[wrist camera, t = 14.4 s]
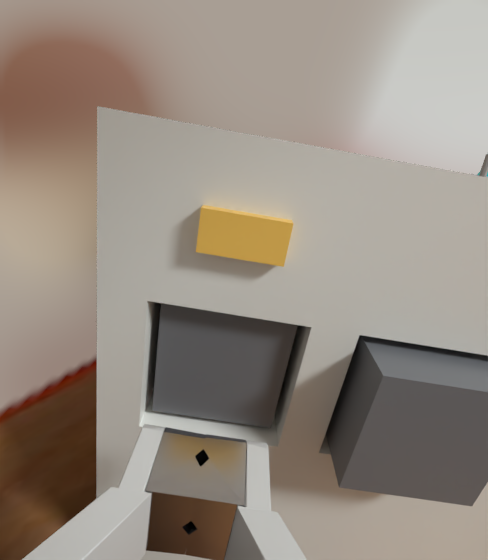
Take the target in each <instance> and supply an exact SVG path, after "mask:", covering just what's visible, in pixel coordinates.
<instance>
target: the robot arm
mask: <svg viewBox="0 0 488 560" xmlns="http://www.w3.org/2000/svg"><path fill="white" fill-rule="evenodd" d="M146 551H155V552H164V553H173V554H182V555H189V556H194V557H200V558H205V559H211V560H307V559H306V557H305V555H304V554H303V552H302V551H301V549H300V547H299V546H298V544H297V542H296V541H295V539H294V538H293V536H292V534H291V533H290V531H289V529H288V528H287V526H286V525H285V523H284V521H283V520H282V518H281V516H280V515H279V513H278V512H274V511H271V496H270V473H269V450H268V445H267V443H262V442H255V441H249V440H247V441H246V440H243V439H236V438H229V437H223V436H216V435H209V434H206V435H205V434H200V433H194V432H189V431H184V430H178V429H173V428H167V427H160V426H155V425H149V424H144V426H143V427H142V429H141V431H140V433H139V436H138V438H137V441H136V443H135V446H134V448H133V451H132V453H131V455H130V458H129V460H128V463H127V465H126V468H125V470H124V473H123V475H122V478H121V480H120V483H119V485H118V488H116V487H110V488H109V489H107V490H106V491H105V492H104V493H103V494H101V495H100V496H99V497H98V498H96V499H95V500H94V501H93V502H92V503H90V504H89V505H88V506H87V507H85V508H84V509H83V510H82V511H81V512H79V513H78V514H77V515H76V516H74V517H73V518H72V519H71V520H70V521H68V522H67V523H66V524H65V525H63V526H62V527H61V528H60V529H59V530H57V531H56V532H55V533H54V534H52V535H51V536H50V537H49V538H48V539H46V540H45V541H44V542H43V543H41V544H40V545H39V546H38V547H37V548H35V549H34V550H33V551H32V552H30V553H29V554H28V555H27V556H26V557H24V558H23V559H22V560H141V558H142V557H143V556H144V555H145V552H146ZM185 553H186V554H185Z"/></svg>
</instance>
